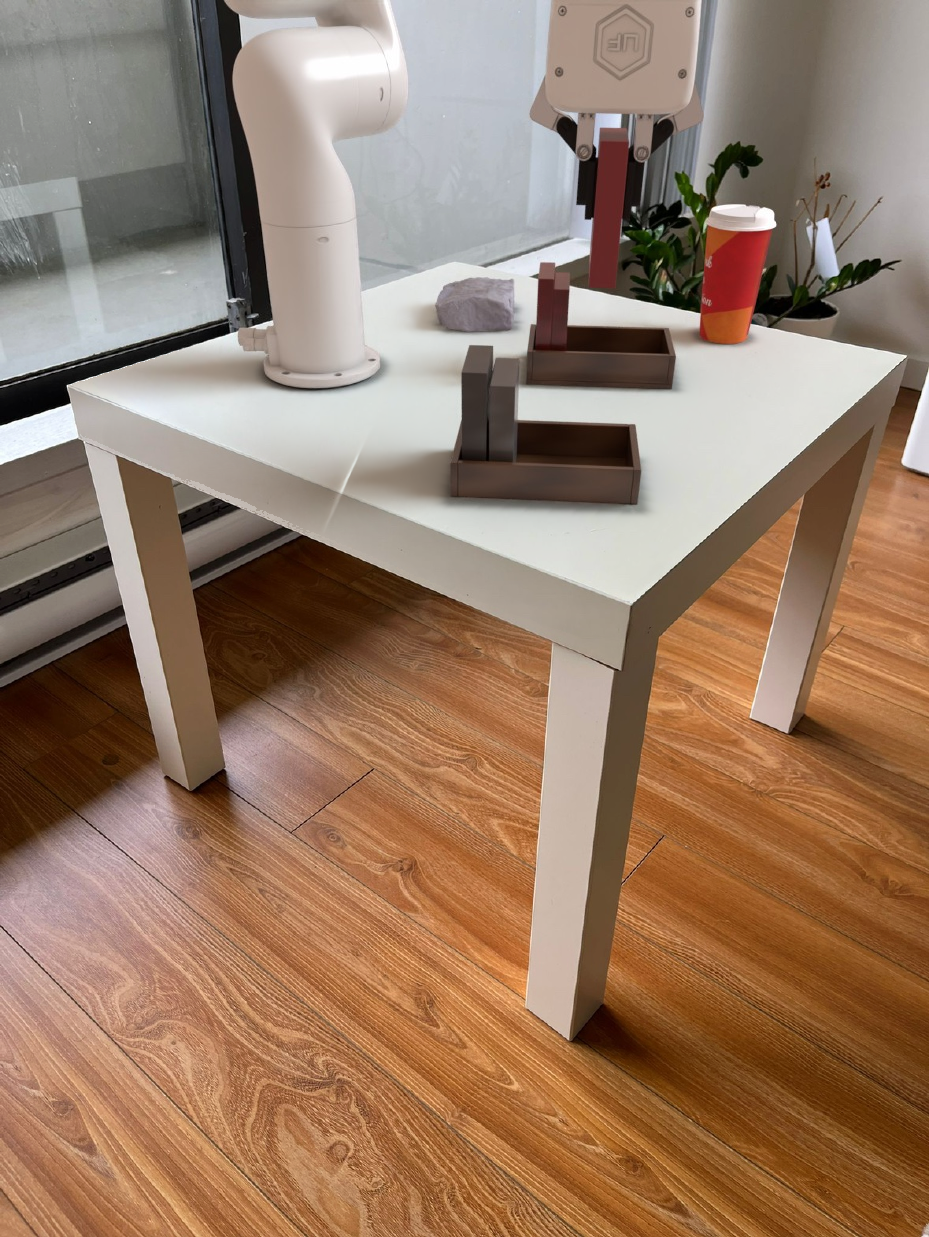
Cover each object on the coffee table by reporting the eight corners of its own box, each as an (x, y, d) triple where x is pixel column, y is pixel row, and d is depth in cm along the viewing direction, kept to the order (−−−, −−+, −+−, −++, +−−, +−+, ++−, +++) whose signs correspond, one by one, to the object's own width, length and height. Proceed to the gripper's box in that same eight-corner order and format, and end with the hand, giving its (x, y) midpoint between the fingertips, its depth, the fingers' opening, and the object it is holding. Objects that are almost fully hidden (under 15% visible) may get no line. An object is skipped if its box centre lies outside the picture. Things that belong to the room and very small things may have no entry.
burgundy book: (588, 288, 71) (600, 141, 65) (588, 265, 76) (599, 127, 70) (615, 289, 71) (629, 142, 65) (613, 266, 76) (626, 128, 70)
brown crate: (450, 501, 77) (448, 378, 71) (461, 454, 85) (461, 339, 79) (637, 509, 76) (651, 385, 70) (631, 460, 83) (644, 344, 77)
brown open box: (525, 384, 99) (529, 282, 93) (529, 354, 106) (533, 258, 100) (671, 389, 97) (685, 286, 91) (665, 358, 105) (676, 261, 99)
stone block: (439, 346, 114) (520, 329, 113) (430, 306, 111) (513, 289, 110) (444, 319, 124) (518, 304, 123) (436, 282, 121) (512, 266, 120)
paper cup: (708, 322, 116) (726, 200, 108) (767, 334, 112) (790, 209, 104) (677, 338, 111) (693, 212, 103) (737, 352, 107) (759, 221, 99)
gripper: (505, -91, 58) (497, 225, 68) (768, -90, 56) (719, 231, 67) (513, -86, 64) (505, 203, 75) (751, -86, 63) (708, 209, 73)
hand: (607, 214), depth 71 cm, fingers closed on burgundy book, 2 cm apart
